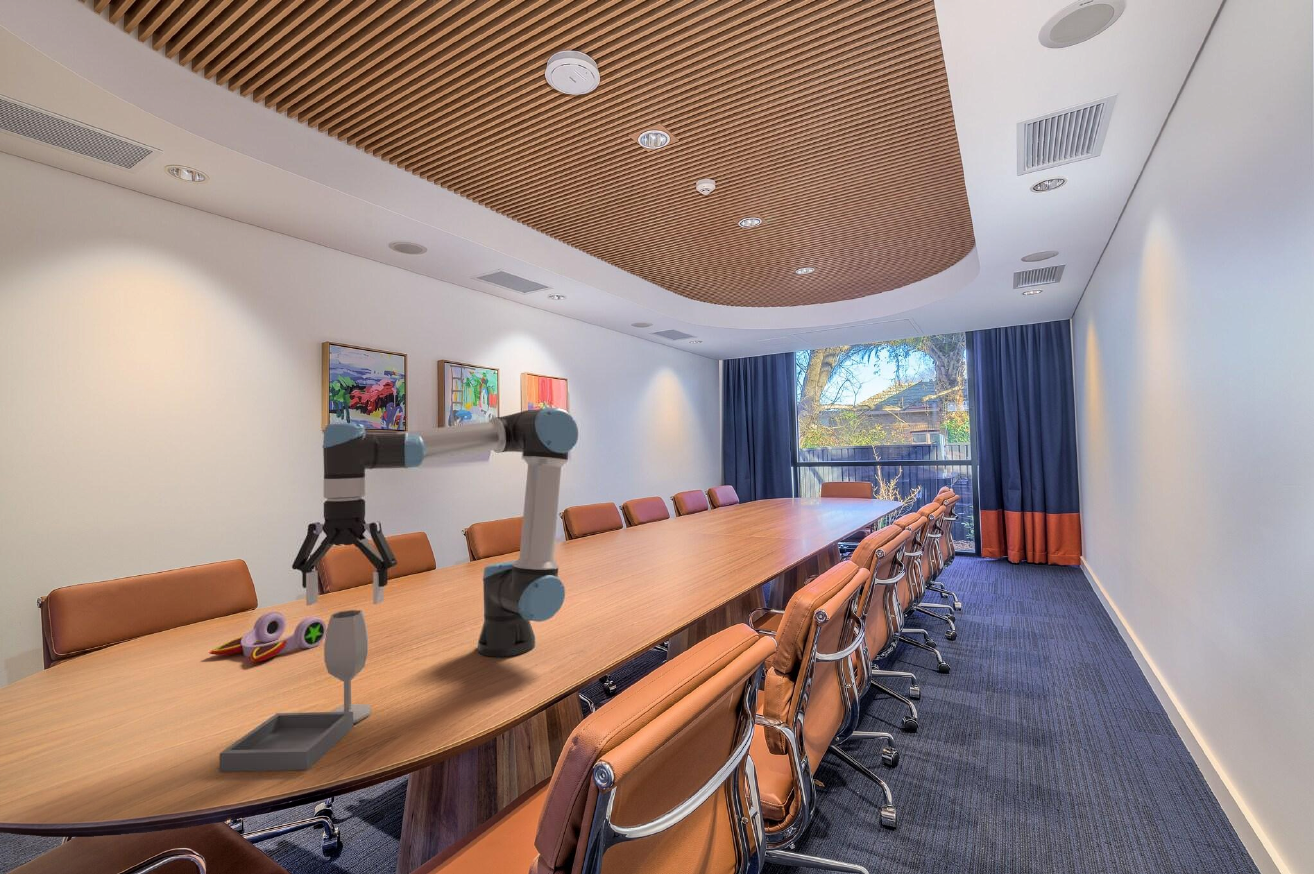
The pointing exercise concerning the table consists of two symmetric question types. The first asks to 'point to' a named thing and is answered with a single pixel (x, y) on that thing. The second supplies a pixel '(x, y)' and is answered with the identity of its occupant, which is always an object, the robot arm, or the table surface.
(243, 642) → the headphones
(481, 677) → the table surface
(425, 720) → the table surface
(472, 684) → the table surface
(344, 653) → the wineglass
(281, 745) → the tray
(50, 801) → the table surface
